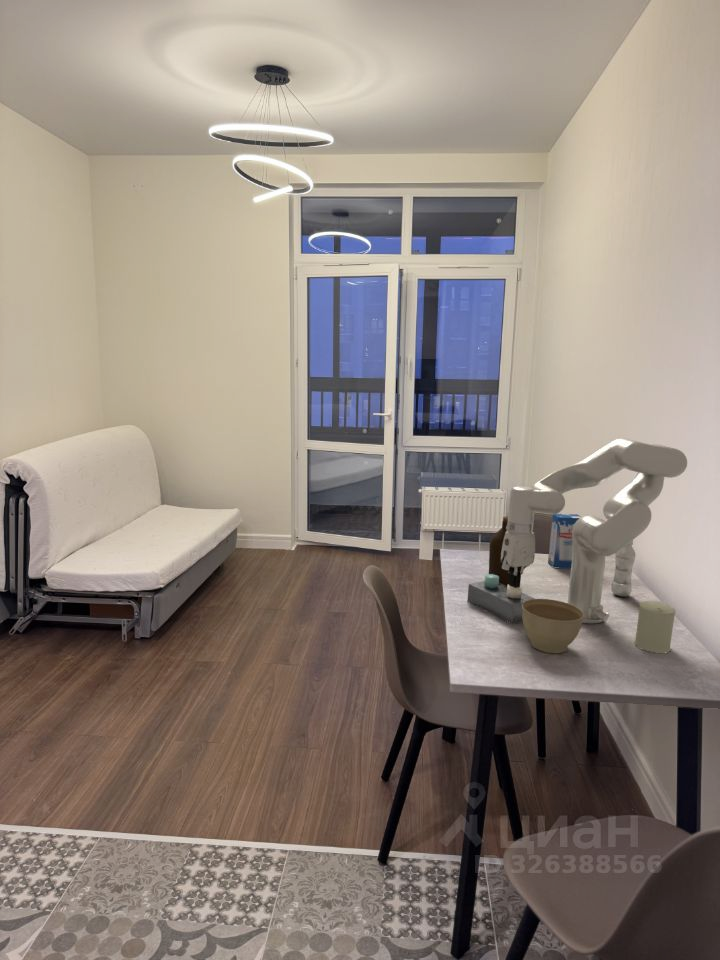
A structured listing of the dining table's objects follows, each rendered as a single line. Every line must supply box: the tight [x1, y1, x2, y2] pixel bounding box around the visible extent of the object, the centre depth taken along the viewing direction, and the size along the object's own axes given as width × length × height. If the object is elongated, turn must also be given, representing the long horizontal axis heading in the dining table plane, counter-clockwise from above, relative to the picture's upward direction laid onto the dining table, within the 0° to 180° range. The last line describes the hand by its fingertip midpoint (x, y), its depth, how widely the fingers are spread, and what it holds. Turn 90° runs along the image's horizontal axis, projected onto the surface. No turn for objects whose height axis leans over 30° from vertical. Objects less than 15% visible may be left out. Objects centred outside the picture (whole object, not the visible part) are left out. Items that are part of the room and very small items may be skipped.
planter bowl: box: [522, 598, 584, 654], centre depth 175 cm, size 16×16×11 cm
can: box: [634, 600, 677, 654], centre depth 178 cm, size 9×9×12 cm
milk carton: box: [547, 513, 582, 569], centre depth 249 cm, size 10×6×20 cm, turn 94°
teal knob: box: [484, 573, 499, 589], centre depth 205 cm, size 4×4×9 cm
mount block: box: [466, 580, 536, 625], centre depth 201 cm, size 20×10×6 cm, turn 32°
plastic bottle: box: [610, 540, 637, 598], centre depth 218 cm, size 6×7×20 cm
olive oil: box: [488, 516, 510, 586], centre depth 220 cm, size 11×11×25 cm
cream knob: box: [507, 584, 523, 599], centre depth 197 cm, size 4×4×9 cm
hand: (514, 586), depth 196 cm, fingers closed
